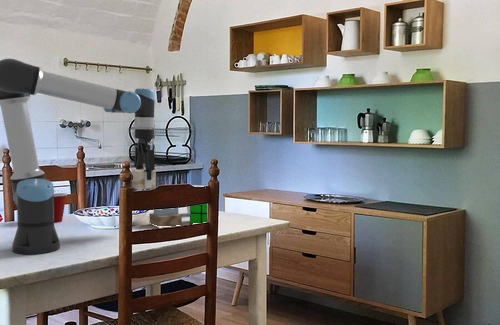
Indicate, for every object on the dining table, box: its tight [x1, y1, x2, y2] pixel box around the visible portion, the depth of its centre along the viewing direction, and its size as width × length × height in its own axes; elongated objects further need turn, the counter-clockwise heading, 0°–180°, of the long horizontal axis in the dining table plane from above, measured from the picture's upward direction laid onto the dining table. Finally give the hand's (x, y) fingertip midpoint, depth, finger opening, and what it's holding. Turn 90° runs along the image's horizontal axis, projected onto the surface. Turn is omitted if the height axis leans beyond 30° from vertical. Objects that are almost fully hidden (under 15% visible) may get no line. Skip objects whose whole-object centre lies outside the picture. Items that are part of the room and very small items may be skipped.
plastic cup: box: [54, 192, 68, 224], centre depth 237 cm, size 11×11×12 cm
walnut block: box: [148, 212, 183, 226], centre depth 233 cm, size 10×10×5 cm
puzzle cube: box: [189, 204, 207, 225], centre depth 240 cm, size 10×10×10 cm
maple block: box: [131, 168, 157, 190], centre depth 219 cm, size 7×7×7 cm
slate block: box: [153, 207, 179, 216], centre depth 233 cm, size 9×5×4 cm, turn 123°
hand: (144, 186), depth 219 cm, fingers closed on maple block, 7 cm apart
